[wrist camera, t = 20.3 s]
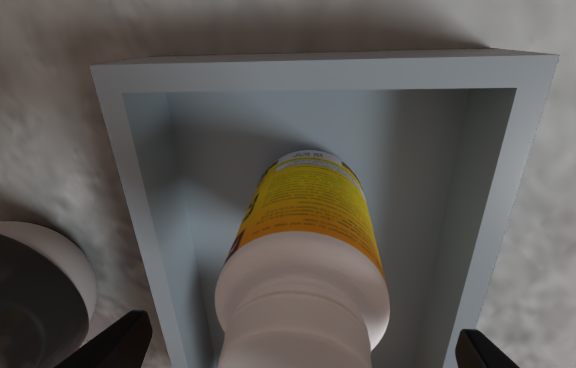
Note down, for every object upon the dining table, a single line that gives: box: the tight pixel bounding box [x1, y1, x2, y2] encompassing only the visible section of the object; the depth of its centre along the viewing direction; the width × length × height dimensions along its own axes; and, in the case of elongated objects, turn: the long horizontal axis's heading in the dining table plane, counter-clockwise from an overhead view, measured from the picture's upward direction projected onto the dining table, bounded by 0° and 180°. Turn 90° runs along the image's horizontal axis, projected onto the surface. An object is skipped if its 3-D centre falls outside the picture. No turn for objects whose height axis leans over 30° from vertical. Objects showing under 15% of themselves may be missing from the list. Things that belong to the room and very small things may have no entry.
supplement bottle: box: [215, 150, 390, 368], centre depth 13 cm, size 6×6×10 cm
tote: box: [89, 48, 560, 368], centre depth 18 cm, size 24×16×4 cm, turn 2°
